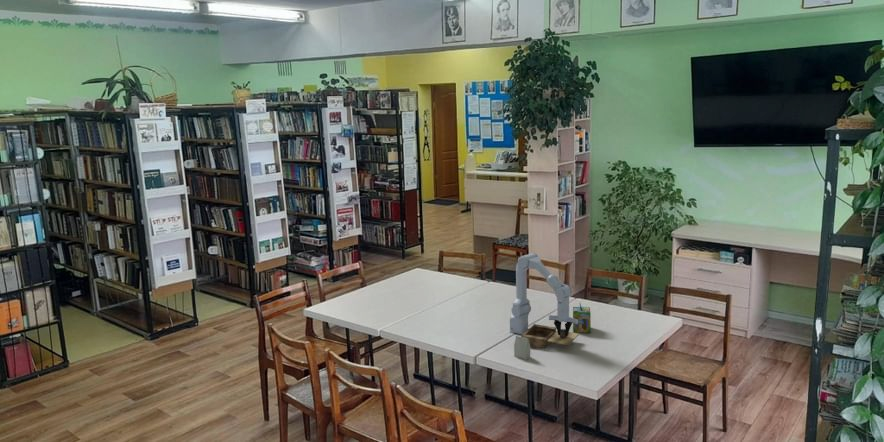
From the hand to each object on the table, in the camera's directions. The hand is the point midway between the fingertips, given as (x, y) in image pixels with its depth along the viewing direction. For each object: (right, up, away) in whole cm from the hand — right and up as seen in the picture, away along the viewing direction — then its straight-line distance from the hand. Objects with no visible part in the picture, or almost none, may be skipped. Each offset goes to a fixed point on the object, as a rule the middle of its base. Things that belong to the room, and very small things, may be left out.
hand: (563, 335), depth 306 cm
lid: (0, -2, 0) cm, 2 cm away
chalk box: (+14, -1, +20) cm, 25 cm away
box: (-11, -4, +7) cm, 14 cm away
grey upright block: (-22, -9, -11) cm, 26 cm away
